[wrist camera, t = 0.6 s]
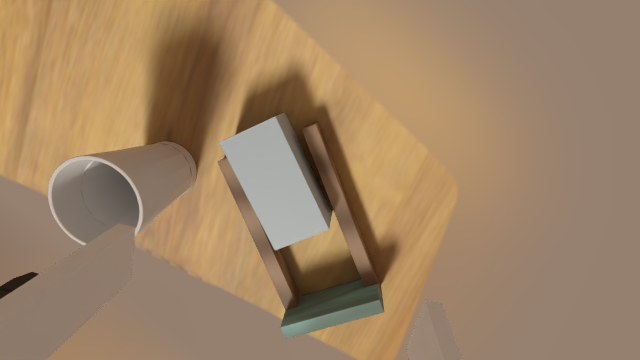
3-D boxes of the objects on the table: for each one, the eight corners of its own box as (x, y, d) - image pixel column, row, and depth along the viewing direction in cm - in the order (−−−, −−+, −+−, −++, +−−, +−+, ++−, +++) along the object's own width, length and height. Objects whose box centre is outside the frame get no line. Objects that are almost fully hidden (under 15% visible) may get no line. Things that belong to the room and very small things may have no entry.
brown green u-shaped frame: (224, 158, 39) (205, 168, 35) (317, 121, 37) (312, 128, 33) (293, 310, 44) (285, 338, 39) (380, 285, 42) (384, 312, 37)
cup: (188, 215, 42) (124, 266, 30) (125, 182, 41) (37, 222, 30) (214, 155, 40) (156, 186, 28) (148, 120, 39) (62, 137, 28)
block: (235, 134, 39) (218, 142, 34) (285, 111, 38) (275, 116, 33) (284, 230, 41) (275, 250, 37) (332, 211, 40) (329, 229, 35)
